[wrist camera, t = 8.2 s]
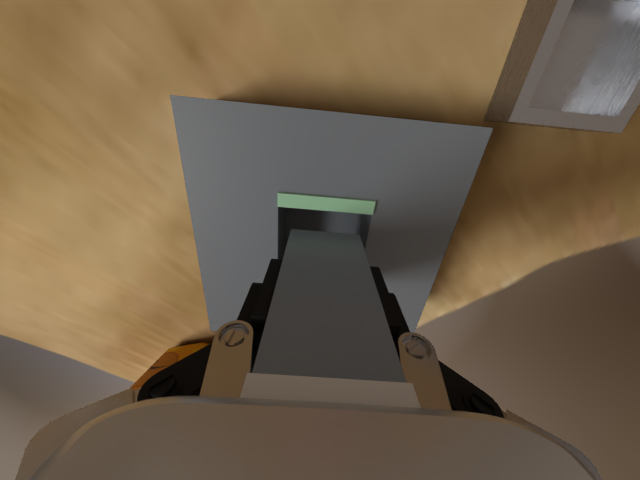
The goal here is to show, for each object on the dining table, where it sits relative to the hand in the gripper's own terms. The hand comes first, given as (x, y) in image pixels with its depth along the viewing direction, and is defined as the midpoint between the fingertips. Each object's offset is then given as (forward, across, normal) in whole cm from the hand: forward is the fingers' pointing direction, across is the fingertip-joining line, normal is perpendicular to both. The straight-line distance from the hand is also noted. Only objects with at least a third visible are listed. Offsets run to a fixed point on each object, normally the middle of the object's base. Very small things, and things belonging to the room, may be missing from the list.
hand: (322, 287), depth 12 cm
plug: (+3, 0, 0) cm, 3 cm away
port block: (+8, 0, 0) cm, 8 cm away
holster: (+8, -14, -12) cm, 20 cm away
